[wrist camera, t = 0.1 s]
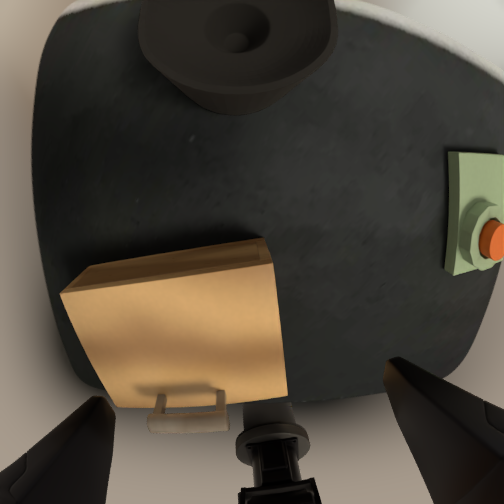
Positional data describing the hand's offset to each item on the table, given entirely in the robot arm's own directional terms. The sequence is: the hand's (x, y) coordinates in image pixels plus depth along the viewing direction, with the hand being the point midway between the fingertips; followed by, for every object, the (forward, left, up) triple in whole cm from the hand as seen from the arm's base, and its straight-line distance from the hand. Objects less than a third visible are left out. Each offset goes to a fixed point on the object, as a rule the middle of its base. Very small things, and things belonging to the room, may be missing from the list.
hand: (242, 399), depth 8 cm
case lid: (-6, +5, -11) cm, 14 cm away
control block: (0, -25, -16) cm, 30 cm away
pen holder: (+14, -2, -16) cm, 21 cm away
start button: (-2, -24, -13) cm, 27 cm away
